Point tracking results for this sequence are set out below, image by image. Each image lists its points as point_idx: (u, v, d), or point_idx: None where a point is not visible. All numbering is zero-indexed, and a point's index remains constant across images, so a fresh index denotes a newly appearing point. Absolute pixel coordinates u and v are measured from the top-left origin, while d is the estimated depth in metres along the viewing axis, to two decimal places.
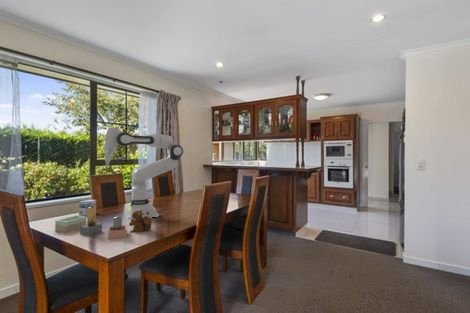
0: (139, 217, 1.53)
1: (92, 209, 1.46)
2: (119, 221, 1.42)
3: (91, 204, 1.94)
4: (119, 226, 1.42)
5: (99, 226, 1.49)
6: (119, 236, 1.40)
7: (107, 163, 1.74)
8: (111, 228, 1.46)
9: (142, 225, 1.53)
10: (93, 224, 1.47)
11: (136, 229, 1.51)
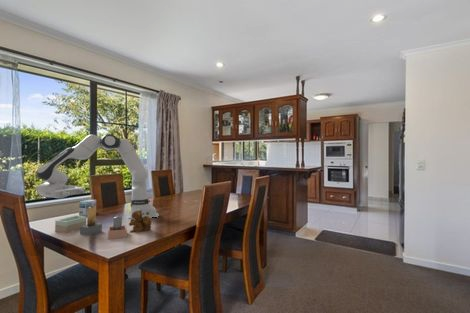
0: (139, 217, 1.53)
1: (92, 209, 1.46)
2: (119, 221, 1.42)
3: (91, 204, 1.94)
4: (119, 226, 1.42)
5: (99, 226, 1.49)
6: (119, 236, 1.40)
7: (63, 193, 1.46)
8: (111, 228, 1.46)
9: (142, 225, 1.53)
10: (93, 224, 1.47)
11: (136, 229, 1.51)
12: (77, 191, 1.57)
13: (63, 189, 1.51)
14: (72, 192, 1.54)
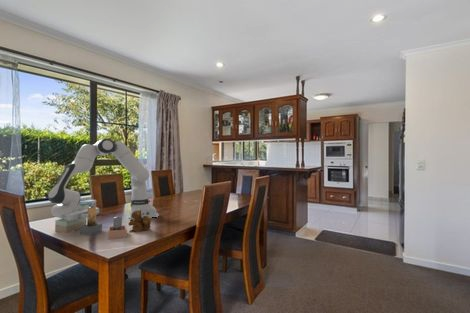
0: (138, 217, 1.54)
1: (92, 209, 1.46)
2: (119, 221, 1.42)
3: (91, 204, 1.94)
4: (119, 226, 1.42)
5: (99, 226, 1.49)
6: (119, 236, 1.40)
7: (82, 215, 1.44)
8: (111, 228, 1.46)
9: (141, 225, 1.54)
10: (93, 224, 1.47)
11: (135, 229, 1.52)
12: None
13: (79, 211, 1.48)
14: None
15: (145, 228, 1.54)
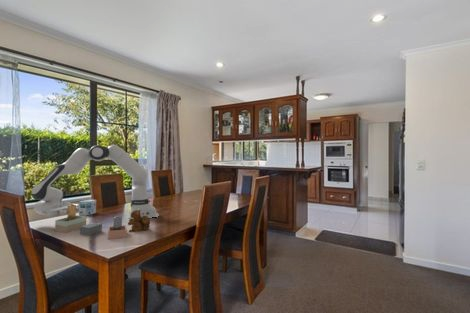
0: (138, 216, 1.54)
1: (72, 207, 1.54)
2: (119, 221, 1.42)
3: (91, 204, 1.94)
4: (119, 226, 1.42)
5: (99, 226, 1.49)
6: (119, 236, 1.40)
7: (60, 212, 1.51)
8: (111, 228, 1.46)
9: (141, 224, 1.54)
10: None
11: (135, 228, 1.52)
12: None
13: (59, 207, 1.56)
14: None
15: (144, 228, 1.55)
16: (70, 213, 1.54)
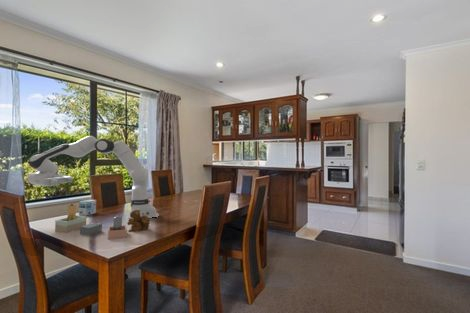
0: (137, 216, 1.55)
1: (72, 207, 1.54)
2: (119, 221, 1.42)
3: (91, 204, 1.94)
4: (119, 226, 1.42)
5: (99, 226, 1.49)
6: (119, 236, 1.40)
7: (51, 181, 1.56)
8: (111, 228, 1.46)
9: (140, 224, 1.55)
10: None
11: (134, 228, 1.53)
12: (65, 180, 1.67)
13: (52, 177, 1.61)
14: (61, 180, 1.64)
15: (144, 227, 1.55)
16: (70, 213, 1.54)
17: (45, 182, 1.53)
